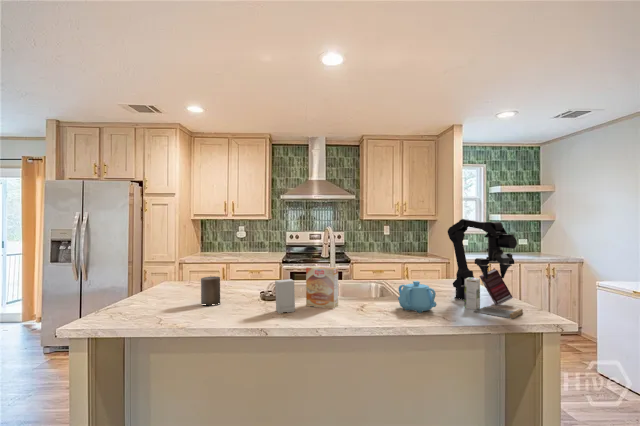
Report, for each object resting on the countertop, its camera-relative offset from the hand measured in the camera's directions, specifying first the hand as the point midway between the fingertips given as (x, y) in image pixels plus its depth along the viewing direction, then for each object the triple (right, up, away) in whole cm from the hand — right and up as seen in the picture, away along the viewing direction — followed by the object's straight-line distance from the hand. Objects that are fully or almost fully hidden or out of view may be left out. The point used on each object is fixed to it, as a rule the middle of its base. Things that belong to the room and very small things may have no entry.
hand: (494, 278), depth 183 cm
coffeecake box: (-85, -14, +3) cm, 87 cm away
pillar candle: (-143, -15, +9) cm, 144 cm away
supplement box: (+6, -12, +3) cm, 14 cm away
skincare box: (-103, -14, -8) cm, 104 cm away
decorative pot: (-40, -14, -6) cm, 43 cm away
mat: (-4, -14, -13) cm, 19 cm away
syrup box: (-12, -14, -4) cm, 19 cm away
